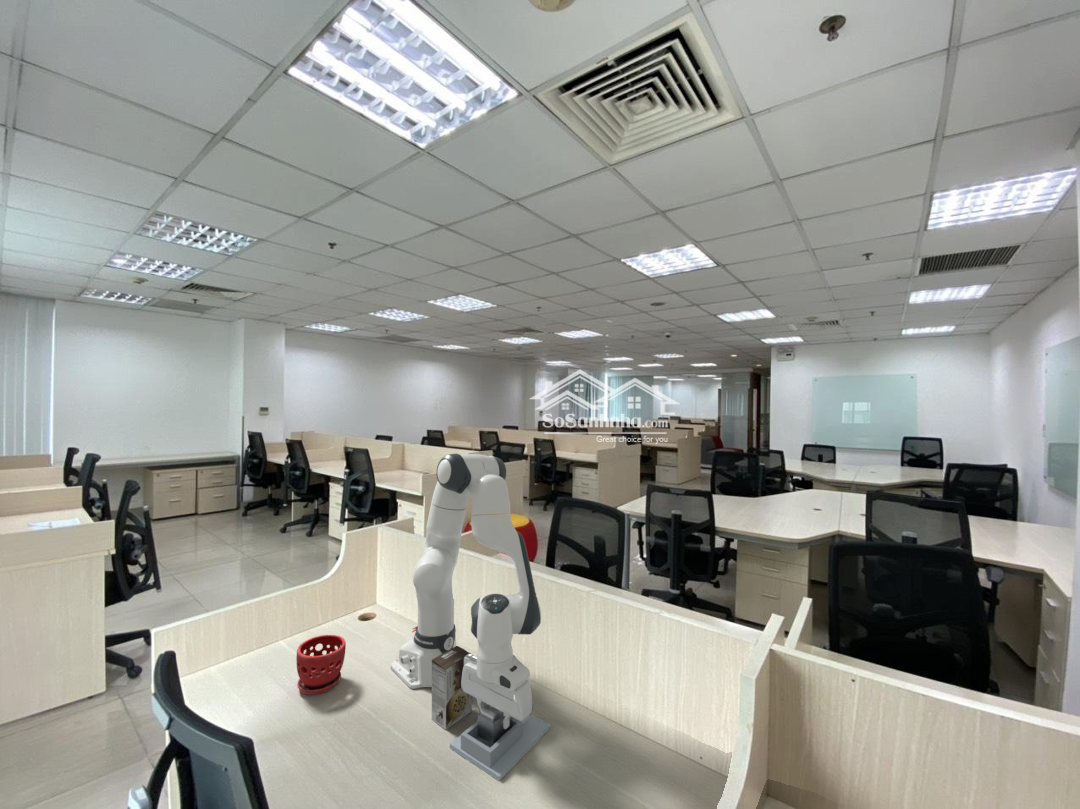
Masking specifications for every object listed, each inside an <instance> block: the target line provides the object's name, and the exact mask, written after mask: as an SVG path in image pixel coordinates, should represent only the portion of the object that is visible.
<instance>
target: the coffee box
mask: <svg viewBox="0 0 1080 809" xmlns="http://www.w3.org/2000/svg"><path fill="white" fill-rule="evenodd" d="M468 654H472V653H471V652H469V651H467V649H464V648H463V647H461V646H458V645H456V646H455V647H454V648H452V649H450V650H448V651H447V652H445V653H443V654H441V655H439V656H438V657H436V658H434V659H432V687H431V720H432V721H433V722H435V723H436V725H439V726H440V727H441V728H442V729H444V730H448V729H450V728H451V727H452V726H454V725H455V724H456V723H458V722H459V721H461V720H462V719H463V718H465V717H466V716H468V715H469V714H470V713H472V711H473V710H472V709H473V706H472V705H473V703H472V702H473V701H472V699H473V696H471V695H469V694H467V693H465V692H464V691H463V689H462V687H461V679H462V671H463V667H464V657H465V656H466V655H468Z"/></svg>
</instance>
